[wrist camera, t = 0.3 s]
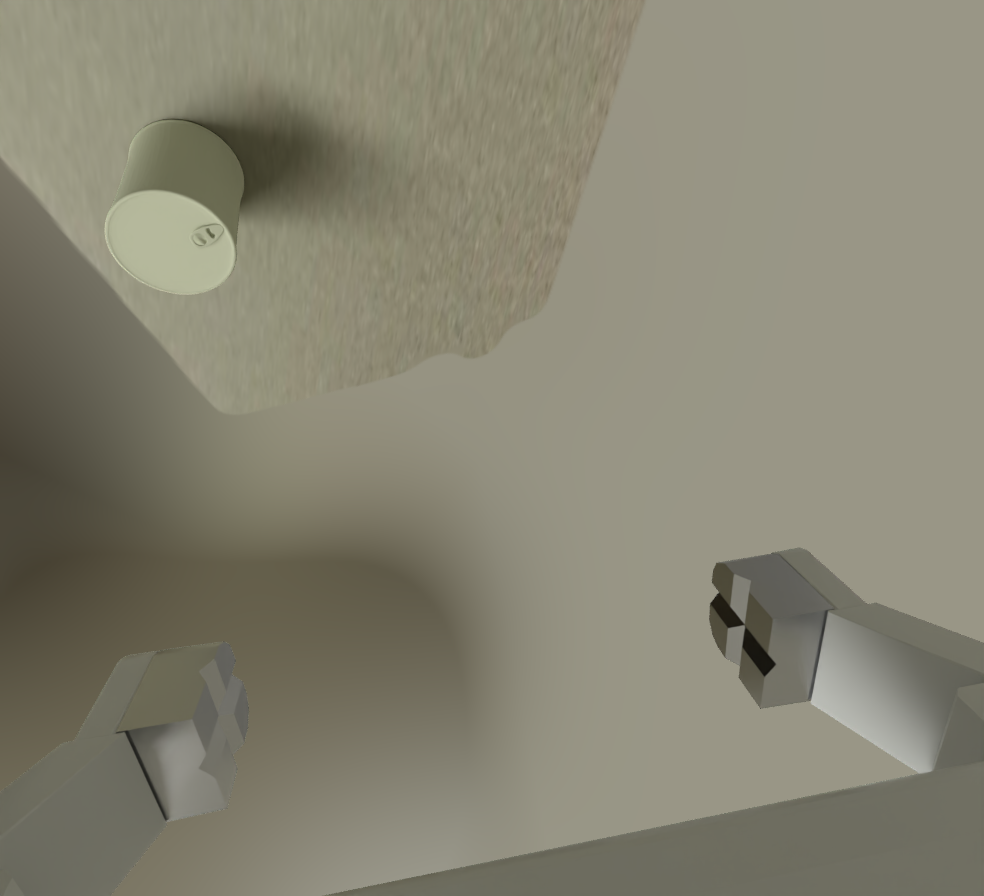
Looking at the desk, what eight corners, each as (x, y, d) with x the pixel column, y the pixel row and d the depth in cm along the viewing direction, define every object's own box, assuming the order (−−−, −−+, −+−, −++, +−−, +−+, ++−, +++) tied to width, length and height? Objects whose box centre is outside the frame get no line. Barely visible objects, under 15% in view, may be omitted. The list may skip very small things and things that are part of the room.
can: (264, 199, 58) (260, 275, 50) (177, 234, 59) (161, 314, 51) (201, 101, 50) (185, 173, 43) (102, 143, 51) (71, 221, 44)
